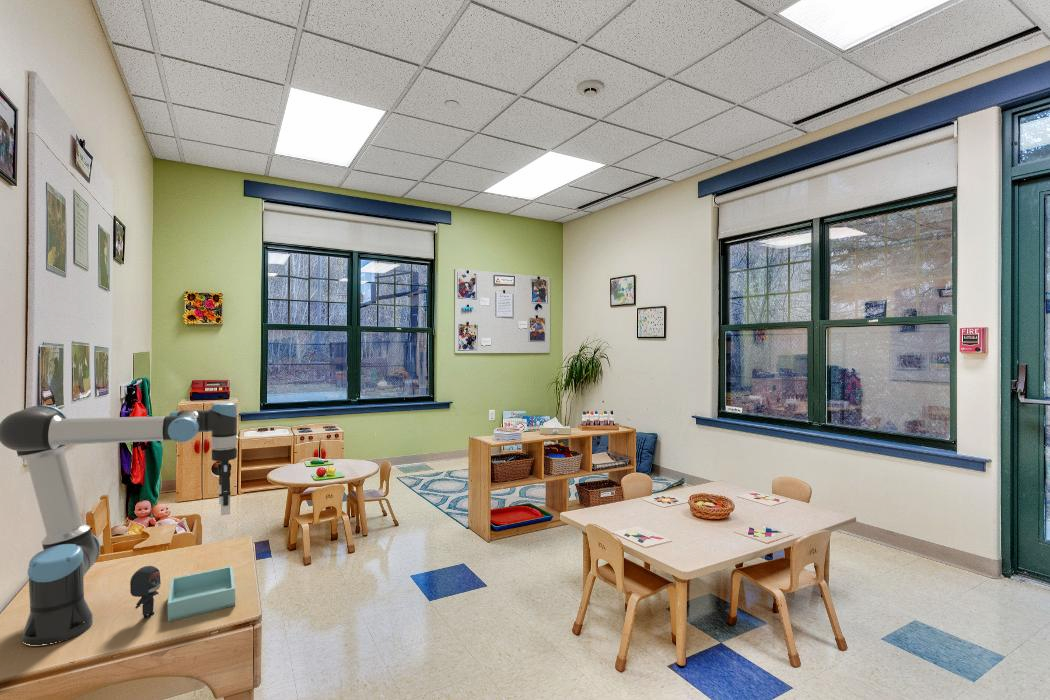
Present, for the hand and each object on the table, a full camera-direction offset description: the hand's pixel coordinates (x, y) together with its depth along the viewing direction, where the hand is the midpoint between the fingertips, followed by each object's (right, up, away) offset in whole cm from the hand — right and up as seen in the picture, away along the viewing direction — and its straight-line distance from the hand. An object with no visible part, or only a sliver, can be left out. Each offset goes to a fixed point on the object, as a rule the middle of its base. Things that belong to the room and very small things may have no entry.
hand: (224, 509), depth 181 cm
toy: (-12, -26, -21) cm, 36 cm away
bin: (0, -26, -12) cm, 28 cm away
